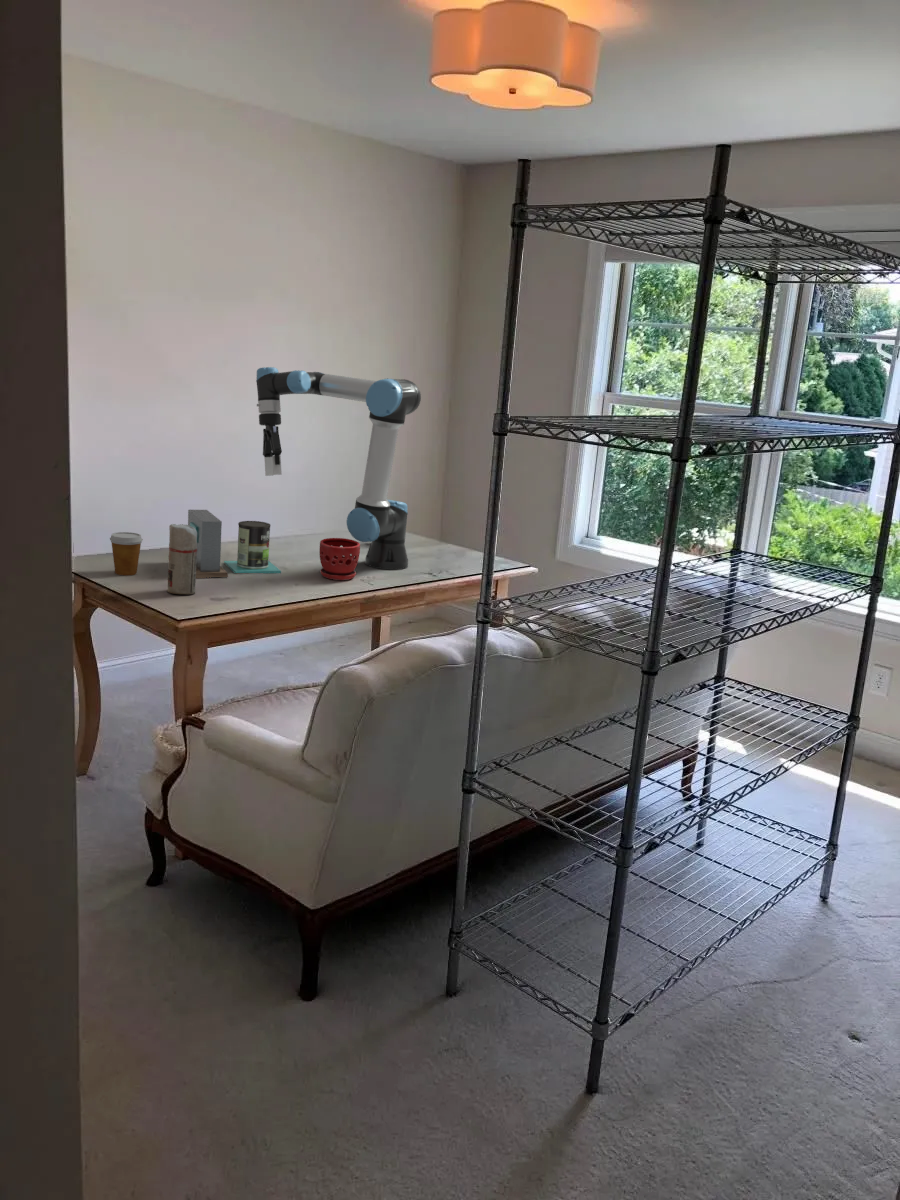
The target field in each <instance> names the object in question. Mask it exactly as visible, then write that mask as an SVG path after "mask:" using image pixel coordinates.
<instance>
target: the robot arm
mask: <svg viewBox="0 0 900 1200" xmlns="http://www.w3.org/2000/svg"><path fill="white" fill-rule="evenodd" d="M255 380H256V381H255V382H256V388H257V403H256V407H258V413H259V414H258V424H259V426H265V428H263V430H262V432H263V433H262V434H263V435H262V436H263V438H262V439H263V440H262V441H263V442H262V456H263V457H264V471H265V472H264V474H265V476H266V477H268V476H269V477H270V476H276V475H277V476H279V475H282V461H281V460H282V459H281V454H283V453H282V451H283V450H282V446H281V445H282V444H281V440H280V434H279V431H280V430H279V426H280V425H282V415H281V409H282V408H281V399H280V398H281V396H283V395H285V396H286V395H307V394H308V395H316V396H317V395H318V396H323V397H324V396H325V397H332V398H337V399H343V400H351V401H357V402H364V403H365V405H366V406H367V408H368V411H369V416H368V418H369V420H370V421H371V423H372V428H371V434H370V440H369V445H368V450H367V451H368V452H367V458H366V465H365V471H364V477H363V483H362V484H363V485H362V490H361V494H360V495H358V496H357V497H356V499H355V502H354V508H353V509H352V510H351V511H349V513H348V514H347V517H346V527H347V531H348V533H350V535H351V537H352V538H353V539H354V540H355V541H357V542H362V543H366V542H367V543H370V545H369V548H368V550H367V553H366V555H365V561H364V563H365V565H366V566H368V567H372V568H376V569H381V570H382V569H384V570H403V569H406V568H408V567H409V558H408V553H407V549H406V535H407V534H406V532H407V521H408V515H409V513H408V504H407V503H406V502H404V501H399V500H392V499H388V494H389V487H390V482H391V476H392V471H393V465H394V457H395V452H396V446H397V440H398V435H399V431H400V430H399V429H400V428H401V427H402V426H404V425H405V421H406V416H408V415H410V414H413V413H414V412H415V411H417V409H419V406H420V404H421V402H422V401H421V400H422V396H421V395H422V394H421V391H420V388H419V387H418V385H416V383H414V381H411V380H409V379H405V378H404V379H403V378H402V379H399V378H384V379H379V380H371V379H366V378H358V377H352V376H351V377H350V376H343V375H336V374H330V373H324V372H319V371H313V372H311V371H305V370H292V371H285V372H279V369H278V368H276V367H274V366H273V367H272V366H270V367H269V366H268V367H264V366H263V367H259V368H257V370H256V379H255Z"/></svg>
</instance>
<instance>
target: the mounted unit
mask: <svg viewBox="0 0 900 1200" xmlns="http://www.w3.org/2000/svg"><path fill="white" fill-rule="evenodd" d="M187 514H188V515H187V525H188V526H191V527H194V528H195V529H196V531H197V561H196V579H212V578H211V577H228V576H229V573H228V571H226V570H225V569H224V567H222V566H221V554H222V553H221V552H222V550H221V549H222V520H220V518H218V517H217V516H215V515H214V514H213V513H212V512H210V511H209V510H208V509H188V510H187ZM206 577H207V578H206ZM209 577H210V578H209Z"/></svg>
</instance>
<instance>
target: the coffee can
mask: <svg viewBox="0 0 900 1200" xmlns="http://www.w3.org/2000/svg"><path fill="white" fill-rule="evenodd" d="M237 524H238V533H237V534H238V536H237V538H238V539H237V560H236V561H237V566H239V567H242V568H247V569H263V568H267V567H268V561H269V556H270V555H269V554H270V553H269V552H270V539H271V538H270V534H271V523H268V522H265V521H257V520H243V521H239V522H238V523H237Z"/></svg>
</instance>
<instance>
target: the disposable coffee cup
mask: <svg viewBox="0 0 900 1200" xmlns="http://www.w3.org/2000/svg"><path fill="white" fill-rule="evenodd" d="M109 541H110V542H111V549H112V556H113V558H112V560H113V564H114V566H113V567H114V573H115V574H116V575H119V576H126V577H127V576H134V575H136V574H137V573H138V565H139V560H140V555H141V554H140V551H141V547H142V545H141V544H142V542H143V538H142V534H140V533H137V532H130V531H122V532H121V531H119V532H114V533H111V535H110V537H109Z"/></svg>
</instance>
